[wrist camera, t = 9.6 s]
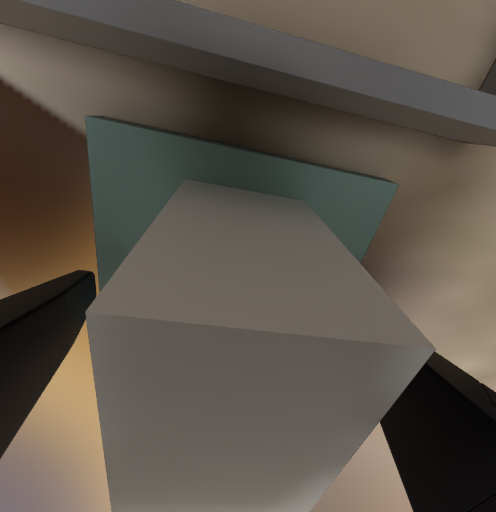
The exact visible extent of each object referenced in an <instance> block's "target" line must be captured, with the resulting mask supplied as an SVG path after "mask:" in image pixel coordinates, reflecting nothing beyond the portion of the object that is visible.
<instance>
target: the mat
mask: <svg viewBox="0 0 496 512" xmlns="http://www.w3.org/2000/svg"><path fill="white" fill-rule="evenodd" d="M85 121H86V134H87V144H88V158H89V170H90V182H91V194H92V206H93V218H94V230H95V242H96V254H97V267H98V278H99V291H100V292H101V290H102V289H103V288H104V286H105V285H106V284H107V282H108V281H109V280H110V278H111V277H112V276H113V274H114V273H115V272H116V270H117V269H118V268H119V266H120V265H121V264H122V262H123V261H124V260H125V258H126V257H127V256H128V254H129V253H130V252H131V250H132V249H133V248H134V246H135V245H136V244H137V242H138V241H139V240H140V238H141V237H142V236H143V234H144V233H145V232H146V230H147V229H148V228H149V226H150V225H151V224H152V222H153V221H154V220H155V218H156V217H157V216H158V214H159V213H160V212H161V210H162V209H163V208H164V206H165V205H166V204H167V202H168V201H169V200H170V198H171V197H172V196H173V194H174V193H175V192H176V190H177V189H178V188H179V187H180V185H181V184H182V183H183V181H184V180H185V179H189V180H194V181H199V182H205V183H210V184H215V185H221V186H226V187H232V188H237V189H242V190H248V191H253V192H258V193H264V194H269V195H274V196H280V197H285V198H290V199H296V200H301V201H306V203H307V204H308V205H309V206H310V207H311V208H312V209H313V211H314V212H315V213H316V214H317V215H318V216H319V217H320V218H321V220H322V221H323V222H324V223H325V224H326V225H327V226H328V228H329V229H330V230H331V231H332V232H333V233H334V234H335V235H336V237H337V238H338V239H339V240H340V241H341V242H342V243H343V244H344V246H345V247H346V248H347V249H348V250H349V251H350V252H351V254H352V255H353V256H354V257H355V258H356V259H357V260H358V261H359V263H360V264H361V262H362V260H363V258H364V256H365V254H366V251H367V249H368V247H369V245H370V243H371V241H372V239H373V237H374V235H375V233H376V231H377V229H378V227H379V225H380V222H381V220H382V218H383V216H384V214H385V212H386V210H387V208H388V206H389V204H390V202H391V200H392V198H393V195H394V193H395V191H396V189H397V187H398V185H399V184H396V183H394V182H391V181H389V180H386V179H383V178H379V177H374V176H370V175H365V174H361V173H356V172H352V171H347V170H343V169H338V168H334V167H329V166H325V165H320V164H315V163H311V162H306V161H302V160H297V159H293V158H288V157H284V156H279V155H275V154H270V153H266V152H261V151H257V150H252V149H248V148H243V147H238V146H234V145H229V144H225V143H220V142H216V141H211V140H207V139H202V138H198V137H193V136H189V135H184V134H180V133H175V132H171V131H166V130H161V129H157V128H152V127H148V126H143V125H139V124H134V123H130V122H125V121H121V120H116V119H112V118H107V117H103V116H85Z"/></svg>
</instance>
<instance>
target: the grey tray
mask: <svg viewBox="0 0 496 512" xmlns="http://www.w3.org/2000/svg"><path fill="white" fill-rule="evenodd" d="M0 23H2V24H6V25H10V26H14V27H18V28H22V29H26V30H29V31H33V32H37V33H41V34H45V35H49V36H53V37H57V38H60V39H64V40H68V41H72V42H76V43H80V44H84V45H88V46H91V47H95V48H99V49H103V50H107V51H111V52H115V53H119V54H123V55H126V56H130V57H134V58H138V59H142V60H146V61H150V62H154V63H157V64H161V65H165V66H169V67H173V68H177V69H181V70H185V71H188V72H192V73H196V74H200V75H204V76H208V77H212V78H216V79H219V80H223V81H227V82H231V83H235V84H239V85H243V86H247V87H250V88H254V89H258V90H262V91H266V92H270V93H274V94H278V95H281V96H285V97H289V98H293V99H297V100H301V101H305V102H309V103H313V104H316V105H320V106H324V107H328V108H332V109H336V110H340V111H344V112H347V113H351V114H355V115H359V116H363V117H367V118H371V119H375V120H378V121H382V122H386V123H390V124H394V125H398V126H402V127H406V128H409V129H413V130H417V131H421V132H425V133H429V134H433V135H437V136H440V137H444V138H448V139H452V140H456V141H460V142H464V143H469V144H478V145H488V146H496V61H495V63H494V65H493V67H492V69H491V70H490V72H489V74H488V76H487V78H486V80H485V82H484V84H483V85H482V87H481V89H480V91H478V90H475V89H472V88H468V87H465V86H462V85H458V84H455V83H451V82H448V81H445V80H441V79H438V78H435V77H431V76H428V75H424V74H421V73H418V72H414V71H411V70H408V69H404V68H401V67H398V66H394V65H391V64H387V63H384V62H381V61H377V60H374V59H371V58H367V57H364V56H360V55H357V54H354V53H350V52H347V51H344V50H340V49H337V48H333V47H330V46H327V45H323V44H320V43H317V42H313V41H310V40H307V39H303V38H300V37H296V36H293V35H290V34H286V33H283V32H280V31H276V30H273V29H269V28H266V27H263V26H259V25H256V24H253V23H249V22H246V21H243V20H239V19H236V18H232V17H229V16H226V15H222V14H219V13H216V12H212V11H209V10H205V9H202V8H199V7H195V6H192V5H189V4H185V3H182V2H178V1H175V0H0Z"/></svg>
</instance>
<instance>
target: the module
mask: <svg viewBox="0 0 496 512" xmlns="http://www.w3.org/2000/svg"><path fill="white" fill-rule="evenodd" d="M85 314H86V322H87V329H88V336H89V344H90V352H91V359H92V366H93V374H94V382H95V389H96V397H97V405H98V412H99V420H100V427H101V434H102V442H103V450H104V458H105V464H106V473H107V480H108V487H109V495H110V503H111V510H112V512H310V510H311V509H312V508H313V507H314V505H315V504H316V503H317V501H318V500H319V499H320V498H321V496H322V495H323V494H324V492H325V491H326V490H327V489H328V487H329V486H330V485H331V483H332V482H333V481H334V479H335V478H336V477H337V476H338V474H339V473H340V472H341V471H342V469H343V468H344V467H345V465H346V464H347V463H348V461H349V460H350V459H351V458H352V456H353V455H354V454H355V452H356V451H357V450H358V449H359V447H360V446H361V445H362V444H363V442H364V441H365V440H366V438H367V437H368V436H369V435H370V433H371V432H372V431H373V429H374V428H375V427H376V426H377V424H378V423H379V422H380V420H381V419H382V418H383V417H384V415H385V414H386V413H387V411H388V410H389V409H390V407H391V406H392V405H393V404H394V402H395V401H396V400H397V398H398V397H399V396H400V395H401V393H402V392H403V391H404V389H405V388H406V387H407V386H408V384H409V383H410V382H411V380H412V379H413V378H414V377H415V375H416V374H417V373H418V371H419V370H420V369H421V368H422V366H423V365H424V364H425V362H426V361H427V360H428V359H429V357H430V356H431V355H432V353H433V352H434V351H435V350H436V349H435V348H434V346H433V345H432V344H431V343H430V342H429V341H428V340H427V339H426V337H425V336H424V335H423V334H422V333H421V332H420V331H419V329H418V328H417V327H416V326H415V325H414V324H413V323H412V322H411V320H410V319H409V318H408V317H407V316H406V315H405V314H404V312H403V311H402V310H401V309H400V308H399V307H398V306H397V305H396V303H395V302H394V301H393V300H392V299H391V298H390V297H389V295H388V294H387V293H386V292H385V291H384V290H383V289H382V288H381V286H380V285H379V284H378V283H377V282H376V281H375V280H374V278H373V277H372V276H371V275H370V274H369V273H368V272H367V271H366V269H365V268H364V267H363V266H362V265H361V264H360V263H359V261H358V260H357V259H356V258H355V257H354V256H353V255H352V254H351V252H350V251H349V250H348V249H347V248H346V247H345V246H344V244H343V243H342V242H341V241H340V240H339V239H338V238H337V237H336V235H335V234H334V233H333V232H332V231H331V230H330V229H329V228H328V226H327V225H326V224H325V223H324V222H323V221H322V220H321V218H320V217H319V216H318V215H317V214H316V213H315V212H314V211H313V209H312V208H311V207H310V206H309V205H308V204H307V203H306V201H301V200H296V199H290V198H285V197H280V196H274V195H269V194H264V193H258V192H253V191H248V190H242V189H237V188H232V187H226V186H221V185H215V184H210V183H205V182H199V181H194V180H189V179H185V180H184V181H183V183H182V184H181V185H180V187H179V188H178V189H177V190H176V192H175V193H174V194H173V196H172V197H171V198H170V200H169V201H168V202H167V204H166V205H165V206H164V208H163V209H162V210H161V212H160V213H159V214H158V216H157V217H156V218H155V220H154V221H153V222H152V224H151V225H150V226H149V228H148V229H147V230H146V232H145V233H144V234H143V236H142V237H141V238H140V240H139V241H138V242H137V244H136V245H135V246H134V248H133V249H132V250H131V252H130V253H129V254H128V256H127V257H126V258H125V260H124V261H123V262H122V264H121V265H120V266H119V268H118V269H117V270H116V272H115V273H114V274H113V276H112V277H111V278H110V280H109V281H108V282H107V284H106V285H105V286H104V288H103V289H102V290H101V292H100V293H99V294H98V296H97V297H96V298H95V300H94V301H93V302H92V304H91V305H90V306H89V308H88V309H87V310H86V312H85Z"/></svg>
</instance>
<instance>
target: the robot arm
mask: <svg viewBox="0 0 496 512" xmlns="http://www.w3.org/2000/svg"><path fill="white" fill-rule="evenodd" d="M95 298H96V284H95V275H94V273H93V272H91V271H84V270H77V271H75V272H72V273H69V274H66V275H64V276H61V277H59V278H56V279H53V280H51V281H48V282H45V283H43V284H40V285H38V286H35V287H32V288H30V289H27V290H25V291H22V292H19V293H17V294H14V295H11V296H8V297H6V298H3V299H1V300H0V459H1V457H2V455H3V454H4V452H5V451H6V449H7V448H8V446H9V445H10V443H11V441H12V440H13V438H14V437H15V435H16V433H17V432H18V430H19V429H20V427H21V426H22V424H23V422H24V421H25V419H26V418H27V416H28V414H29V413H30V411H31V410H32V408H33V407H34V405H35V404H36V402H37V400H38V399H39V397H40V396H41V394H42V392H43V391H44V390H45V388H46V386H47V385H48V383H49V382H50V380H51V379H52V377H53V375H54V374H55V372H56V371H57V369H58V368H59V366H60V364H61V363H62V361H63V360H64V358H65V356H66V355H67V353H68V352H69V350H70V348H71V347H72V345H73V344H74V342H75V340H76V338H77V336H78V334H79V332H80V330H81V328H82V326H83V324H84V321H85V320H86V314H85V312H86V310H87V309H88V308H89V306H90V305H91V304H92V302H93V301H94V300H95ZM380 424H381V427H382V429H383V432H384V435H385V437H386V440H387V443H388V445H389V448H390V450H391V453H392V456H393V459H394V461H395V464H396V467H397V469H398V472H399V475H400V477H401V480H402V483H403V485H404V488H405V491H406V493H407V496H408V499H409V501H410V504H411V507H412V509H413V512H496V392H494V391H493V390H491V389H490V388H488V387H487V386H485V385H484V384H482V383H480V382H479V381H478V380H476V379H475V378H473V377H472V376H470V375H469V374H468V373H466V372H465V371H463V370H462V369H460V368H459V367H457V366H456V365H454V364H453V363H451V362H450V361H448V360H447V359H445V358H444V357H442V356H441V355H439V354H438V353H436V352H435V351H434V352H433V353H432V355H431V356H430V357H429V359H428V360H427V361H426V362H425V364H424V365H423V366H422V368H421V369H420V370H419V371H418V373H417V374H416V375H415V377H414V378H413V379H412V380H411V382H410V383H409V384H408V386H407V387H406V388H405V389H404V391H403V392H402V393H401V395H400V396H399V397H398V398H397V400H396V401H395V402H394V404H393V405H392V406H391V407H390V409H389V410H388V411H387V413H386V414H385V415H384V417H383V418H382V419H381V420H380Z"/></svg>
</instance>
